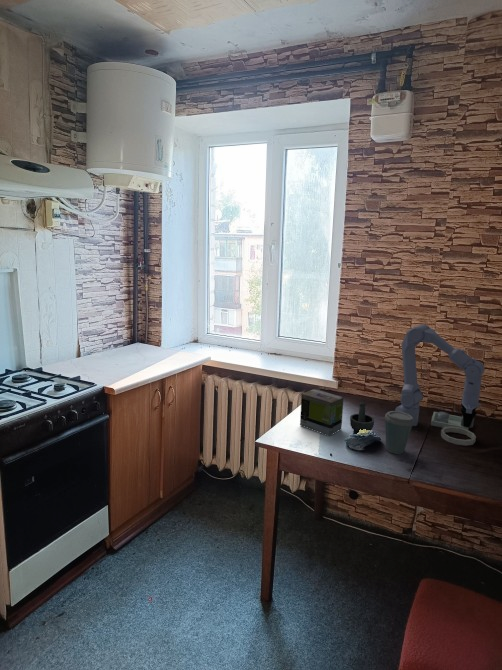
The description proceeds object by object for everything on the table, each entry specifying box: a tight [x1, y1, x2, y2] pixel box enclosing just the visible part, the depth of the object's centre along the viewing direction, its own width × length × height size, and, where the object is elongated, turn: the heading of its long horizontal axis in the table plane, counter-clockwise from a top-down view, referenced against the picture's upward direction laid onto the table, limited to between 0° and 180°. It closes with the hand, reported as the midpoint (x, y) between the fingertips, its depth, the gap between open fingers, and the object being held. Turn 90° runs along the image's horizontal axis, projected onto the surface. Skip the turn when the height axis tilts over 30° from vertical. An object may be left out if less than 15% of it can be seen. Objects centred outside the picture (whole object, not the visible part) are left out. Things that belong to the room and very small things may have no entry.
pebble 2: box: [461, 415, 475, 429], centre depth 177 cm, size 4×4×4 cm
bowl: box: [440, 427, 477, 447], centre depth 180 cm, size 12×12×3 cm
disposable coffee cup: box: [384, 410, 414, 455], centre depth 168 cm, size 11×11×15 cm
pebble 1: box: [437, 411, 450, 423], centre depth 194 cm, size 4×4×4 cm
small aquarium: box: [299, 388, 344, 437], centre depth 187 cm, size 15×10×15 cm, turn 48°
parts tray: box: [430, 411, 470, 431], centre depth 193 cm, size 15×12×3 cm
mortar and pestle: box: [349, 402, 375, 435], centre depth 183 cm, size 11×9×12 cm
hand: (466, 424), depth 177 cm, fingers closed on pebble 2, 4 cm apart
